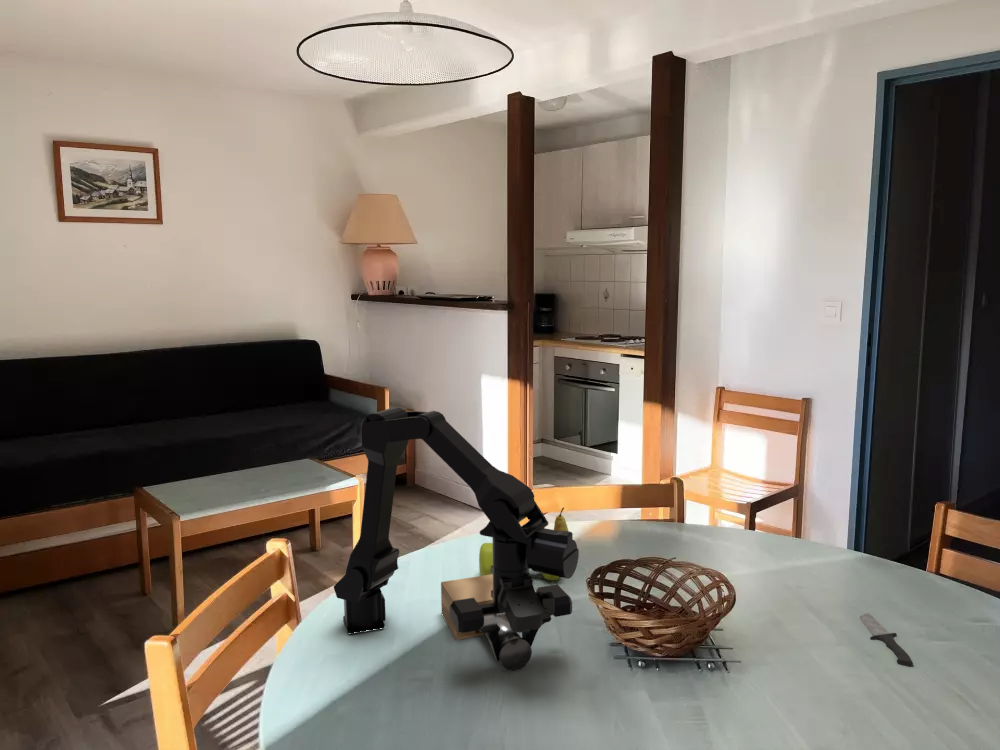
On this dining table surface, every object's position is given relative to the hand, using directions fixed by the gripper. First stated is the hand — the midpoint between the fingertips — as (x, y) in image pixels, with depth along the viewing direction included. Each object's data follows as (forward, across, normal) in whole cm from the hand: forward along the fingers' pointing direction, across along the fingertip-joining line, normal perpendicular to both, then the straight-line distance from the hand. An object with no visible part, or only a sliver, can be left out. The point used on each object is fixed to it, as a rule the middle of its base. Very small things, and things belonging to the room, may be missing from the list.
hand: (511, 657), depth 121 cm
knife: (+2, +63, -11) cm, 64 cm away
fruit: (+2, +25, +38) cm, 45 cm away
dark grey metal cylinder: (+1, 0, +5) cm, 6 cm away
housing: (+1, 0, +16) cm, 16 cm away
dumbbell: (+2, +13, +31) cm, 34 cm away
